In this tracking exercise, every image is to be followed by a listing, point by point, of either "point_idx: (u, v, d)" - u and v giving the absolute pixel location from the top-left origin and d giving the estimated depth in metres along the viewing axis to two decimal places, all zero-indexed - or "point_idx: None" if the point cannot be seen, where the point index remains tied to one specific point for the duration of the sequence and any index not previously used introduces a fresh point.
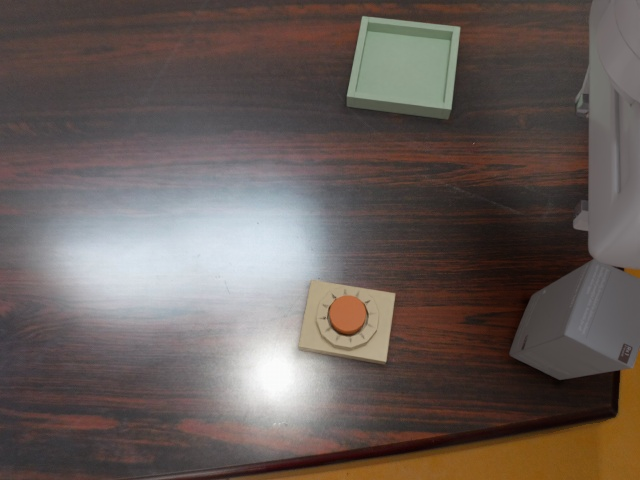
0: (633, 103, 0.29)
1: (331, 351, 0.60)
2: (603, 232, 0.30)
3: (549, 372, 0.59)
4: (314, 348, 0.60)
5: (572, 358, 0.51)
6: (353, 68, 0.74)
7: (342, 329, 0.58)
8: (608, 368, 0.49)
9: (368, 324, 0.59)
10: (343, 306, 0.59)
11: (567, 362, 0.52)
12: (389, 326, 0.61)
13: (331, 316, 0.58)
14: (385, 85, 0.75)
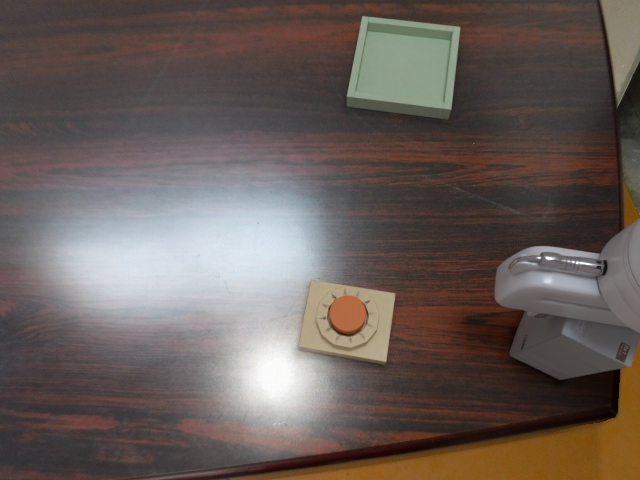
0: None
1: (331, 351, 0.60)
2: None
3: (549, 372, 0.59)
4: (314, 348, 0.60)
5: (571, 357, 0.51)
6: (353, 68, 0.74)
7: (342, 329, 0.58)
8: (606, 367, 0.48)
9: (368, 324, 0.59)
10: (343, 306, 0.59)
11: (566, 361, 0.52)
12: (389, 326, 0.61)
13: (331, 316, 0.58)
14: (385, 85, 0.75)
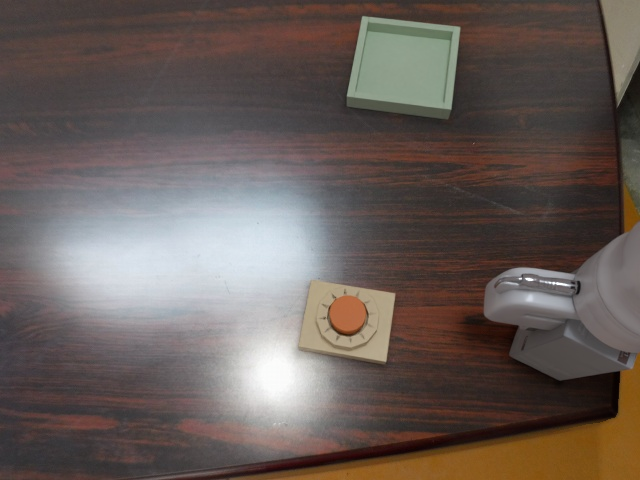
0: None
1: (331, 351, 0.60)
2: None
3: (549, 373, 0.59)
4: (314, 348, 0.60)
5: (572, 359, 0.51)
6: (353, 68, 0.74)
7: (342, 329, 0.58)
8: (607, 369, 0.49)
9: (368, 324, 0.59)
10: (343, 306, 0.59)
11: (567, 363, 0.52)
12: (389, 326, 0.61)
13: (331, 316, 0.58)
14: (385, 85, 0.75)
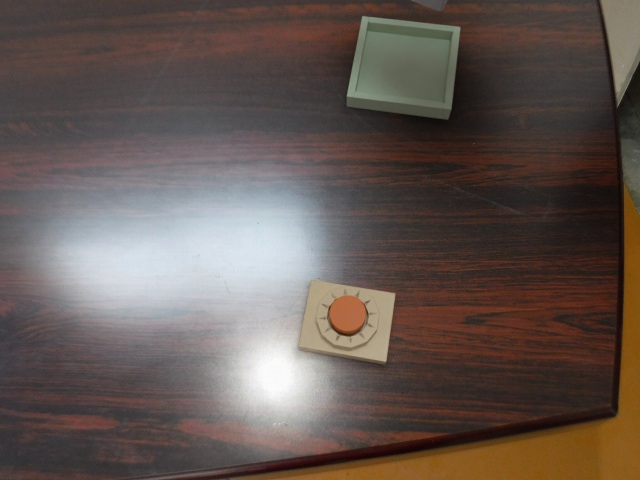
0: None
1: (331, 351, 0.60)
2: None
3: None
4: (314, 348, 0.60)
5: None
6: (353, 68, 0.74)
7: (342, 329, 0.58)
8: None
9: (368, 324, 0.59)
10: (343, 306, 0.59)
11: None
12: (389, 326, 0.61)
13: (331, 316, 0.58)
14: (385, 85, 0.75)
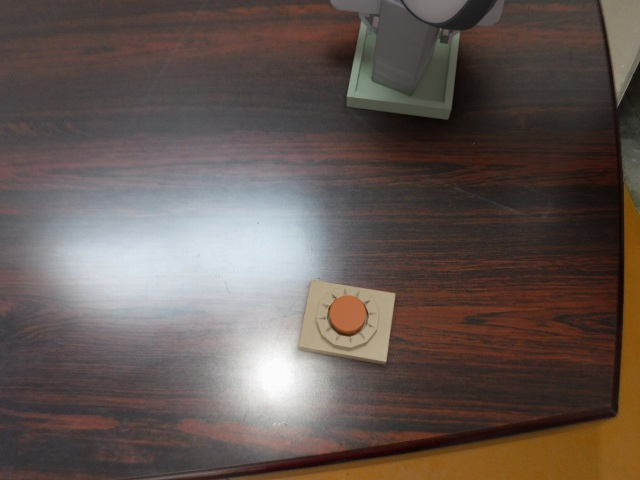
0: None
1: (331, 351, 0.60)
2: None
3: (399, 85, 0.73)
4: (314, 348, 0.60)
5: (398, 37, 0.64)
6: (353, 68, 0.74)
7: (342, 329, 0.58)
8: (421, 34, 0.62)
9: (368, 324, 0.59)
10: (343, 306, 0.59)
11: (399, 49, 0.66)
12: (389, 326, 0.61)
13: (331, 316, 0.58)
14: None
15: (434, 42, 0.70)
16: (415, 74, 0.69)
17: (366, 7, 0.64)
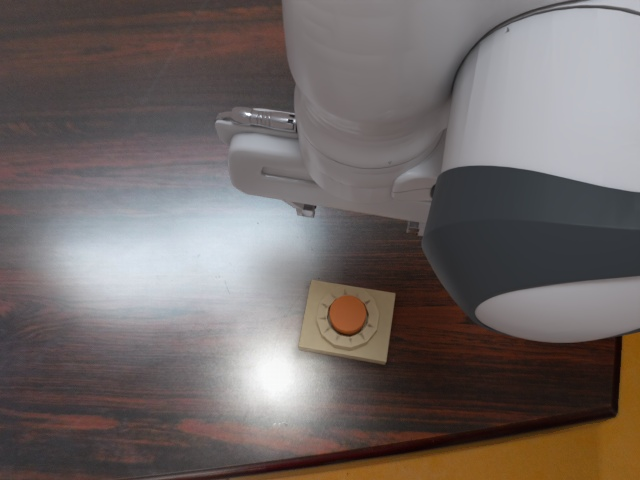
0: None
1: (331, 351, 0.60)
2: None
3: None
4: (314, 348, 0.60)
5: None
6: None
7: (342, 329, 0.58)
8: None
9: (368, 324, 0.59)
10: (343, 306, 0.59)
11: None
12: (389, 326, 0.61)
13: (331, 316, 0.58)
14: None
15: None
16: None
17: (288, 197, 0.41)
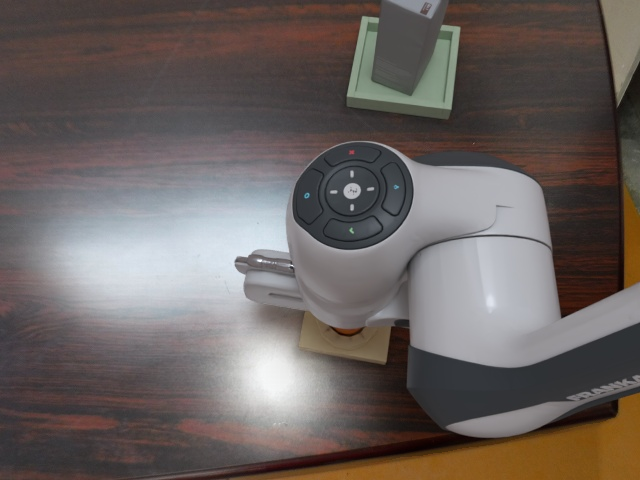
0: None
1: (331, 351, 0.60)
2: None
3: (399, 85, 0.73)
4: (314, 348, 0.60)
5: (399, 37, 0.64)
6: (353, 68, 0.74)
7: (342, 329, 0.58)
8: (421, 35, 0.62)
9: None
10: None
11: (399, 49, 0.66)
12: (389, 326, 0.61)
13: None
14: None
15: (434, 42, 0.70)
16: (415, 74, 0.69)
17: (289, 306, 0.53)
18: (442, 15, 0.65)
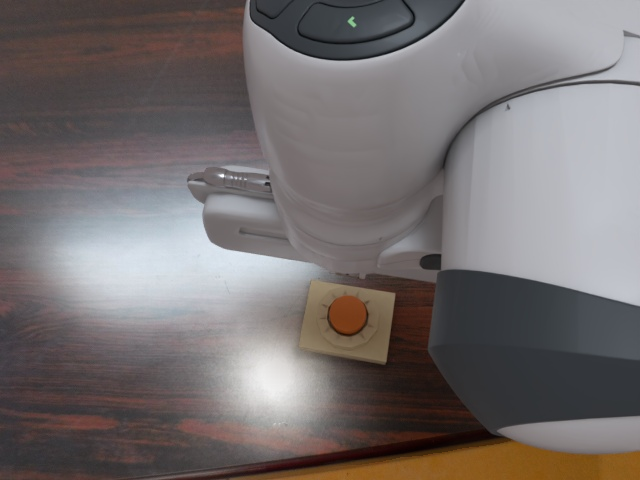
0: None
1: (331, 351, 0.60)
2: None
3: None
4: (314, 348, 0.60)
5: None
6: None
7: (342, 329, 0.58)
8: None
9: (368, 324, 0.59)
10: (343, 306, 0.59)
11: None
12: (389, 326, 0.61)
13: (331, 316, 0.58)
14: None
15: None
16: None
17: (269, 253, 0.38)
18: None
